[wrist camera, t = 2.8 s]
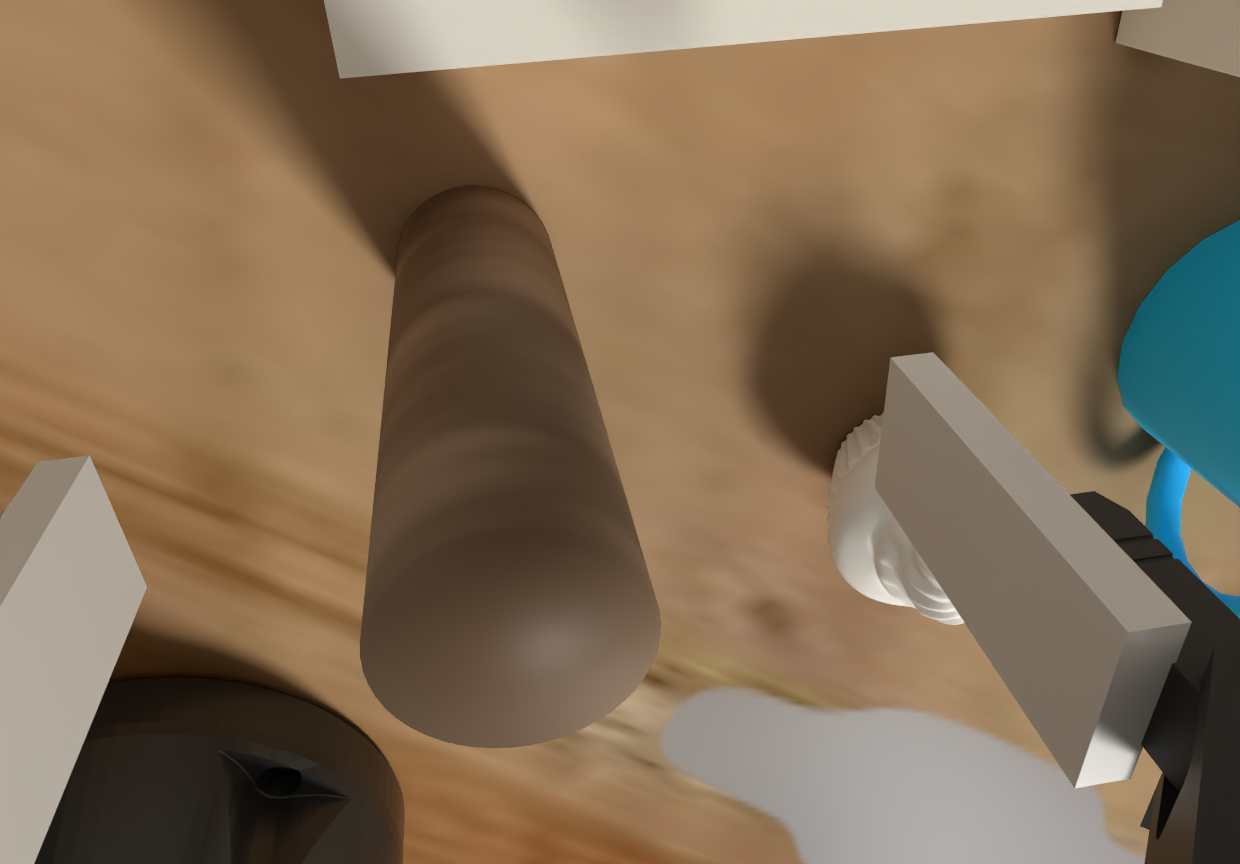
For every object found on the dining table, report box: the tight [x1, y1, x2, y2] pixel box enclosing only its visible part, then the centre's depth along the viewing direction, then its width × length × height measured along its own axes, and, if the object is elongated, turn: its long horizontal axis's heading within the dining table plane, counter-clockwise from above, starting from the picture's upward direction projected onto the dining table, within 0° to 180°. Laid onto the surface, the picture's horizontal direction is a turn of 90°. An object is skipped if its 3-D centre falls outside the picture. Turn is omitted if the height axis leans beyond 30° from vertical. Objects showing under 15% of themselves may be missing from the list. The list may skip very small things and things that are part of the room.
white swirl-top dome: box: [826, 412, 965, 625], centre depth 27 cm, size 6×6×7 cm
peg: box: [360, 186, 661, 748], centre depth 18 cm, size 4×4×14 cm
